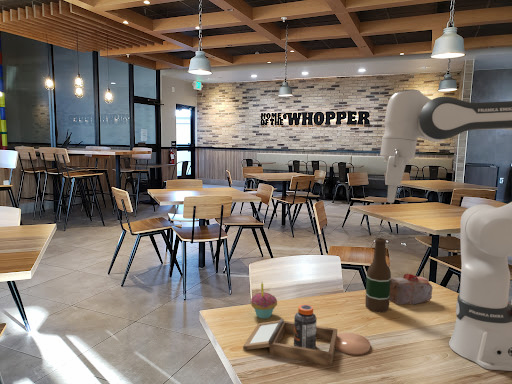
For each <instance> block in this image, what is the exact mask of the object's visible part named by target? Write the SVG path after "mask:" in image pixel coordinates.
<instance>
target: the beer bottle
mask: <svg viewBox="0 0 512 384" xmlns="http://www.w3.org/2000/svg"><path fill="white" fill-rule="evenodd" d="M374 243H375V245H374V253H373V259H372V263H371V264H370V265H369V267H367V271H366V280H365V281H366V283H365V285H366V286H365V299H364V300H365V308H366V309H368V310H369V311H371V312H375V313H386V312H387V311H388V310H389V309H390V283H391V278H392V272H391V269H390V266H389V265H388V264H387V259H386V258H387V256H386V251H387V249H386V243H387V239H386V238H382V237H378V238H375V239H374Z"/></svg>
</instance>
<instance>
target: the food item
mask: <svg viewBox="0 0 512 384" xmlns="http://www.w3.org/2000/svg"><path fill="white" fill-rule="evenodd" d="M432 294H433V286H432V283H430V282H429V280H428V279H427V278H425V277H423V276H417V275H414V274H411V273H410V274H409V273H405V274H403V277H391V283H390V301H391V302H392V303H394V304H395V305H406V304H409V305H418V304H419V303H420V304H422V303H427V302H428V301H430V300H431V299H432V297H433V296H432ZM390 301H389V302H390Z"/></svg>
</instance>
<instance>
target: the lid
mask: <svg viewBox="0 0 512 384" xmlns="http://www.w3.org/2000/svg"><path fill="white" fill-rule="evenodd" d="M279 321H280V319H279V320H273V321H268V322H267V321H265V322H260V323H257V325H256V326H255V328H254V329H253V330H252V332H251V333H250V335H249V337H248V339H247V338H246V339H247V340H246V341H245V342H244V344H243V345H242V350H243V351H248V350H255V349H262V348H270V343H269V342H268V341H269V339H270V337H271V335H272V334H273V332H274V330H275V328H276V326H277V325H278V323H279Z"/></svg>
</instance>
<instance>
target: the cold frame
mask: <svg viewBox="0 0 512 384" xmlns="http://www.w3.org/2000/svg"><path fill="white" fill-rule="evenodd" d="M279 320H280V321H279V323H278V325H277V326H276V328H275V330H274V332H273V334H272V335H271V337H270V339H269V341H268V342H269V343H270V347H269V355H270V356H274V357H281V358H286V359H291V360H296V361H297V360H298V361H304V362H308V363H315V364H319V365H325V366H330V367H332V365H333V361H334V357H335V356H334V354H335V351H336V348H335V344H336V339H337V334H338V328H333V327H327V326H319V325H316V339H318V338H319V339H324V340H328V341H329V340H330V342H329V348H328V350H327V351H325V350H321V349H316V348H315V349H309V348H304V347H298V346H294V345H290V344H285V343H280V342H281V340H282V339H283V336H284V335H285V333H287V334H293V335H294V321H287V320H284V319H283V318H280V319H279Z"/></svg>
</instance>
